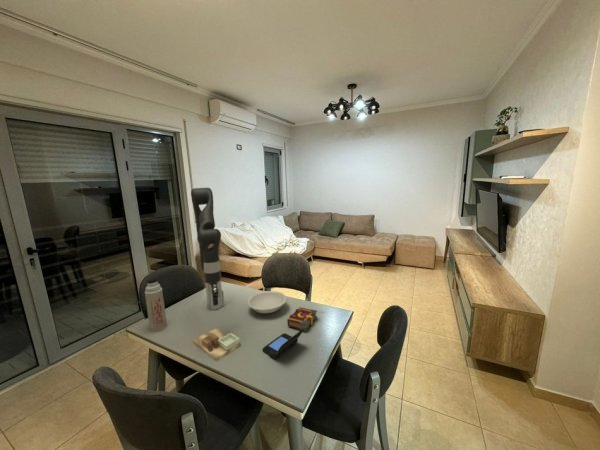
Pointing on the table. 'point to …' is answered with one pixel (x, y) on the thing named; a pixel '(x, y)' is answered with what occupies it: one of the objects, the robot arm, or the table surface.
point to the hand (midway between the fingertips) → (215, 303)
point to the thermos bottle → (155, 306)
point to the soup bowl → (267, 301)
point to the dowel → (212, 302)
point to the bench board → (219, 350)
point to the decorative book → (302, 318)
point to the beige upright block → (209, 340)
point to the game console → (281, 344)
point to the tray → (228, 341)
